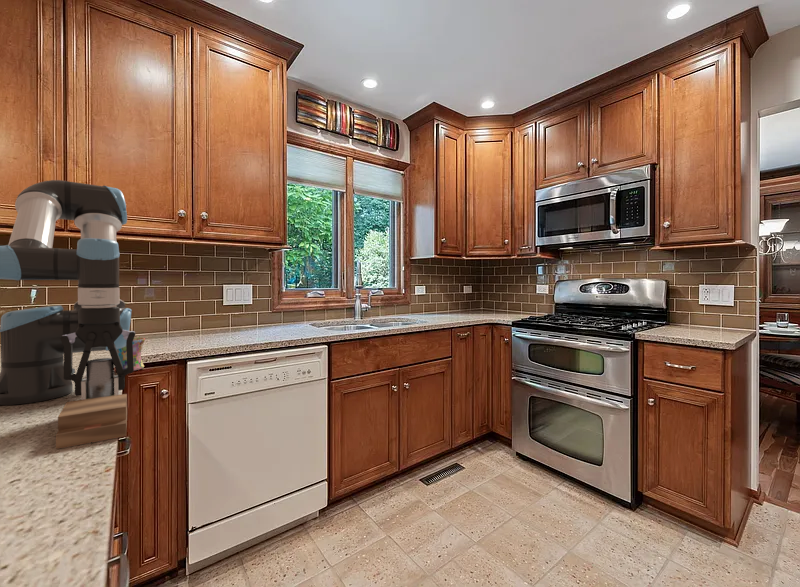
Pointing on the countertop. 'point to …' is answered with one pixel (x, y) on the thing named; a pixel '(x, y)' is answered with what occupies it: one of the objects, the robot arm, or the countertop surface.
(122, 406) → the step block
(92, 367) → the column
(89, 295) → the robot arm
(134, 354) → the colorful snack bag
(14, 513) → the countertop surface
